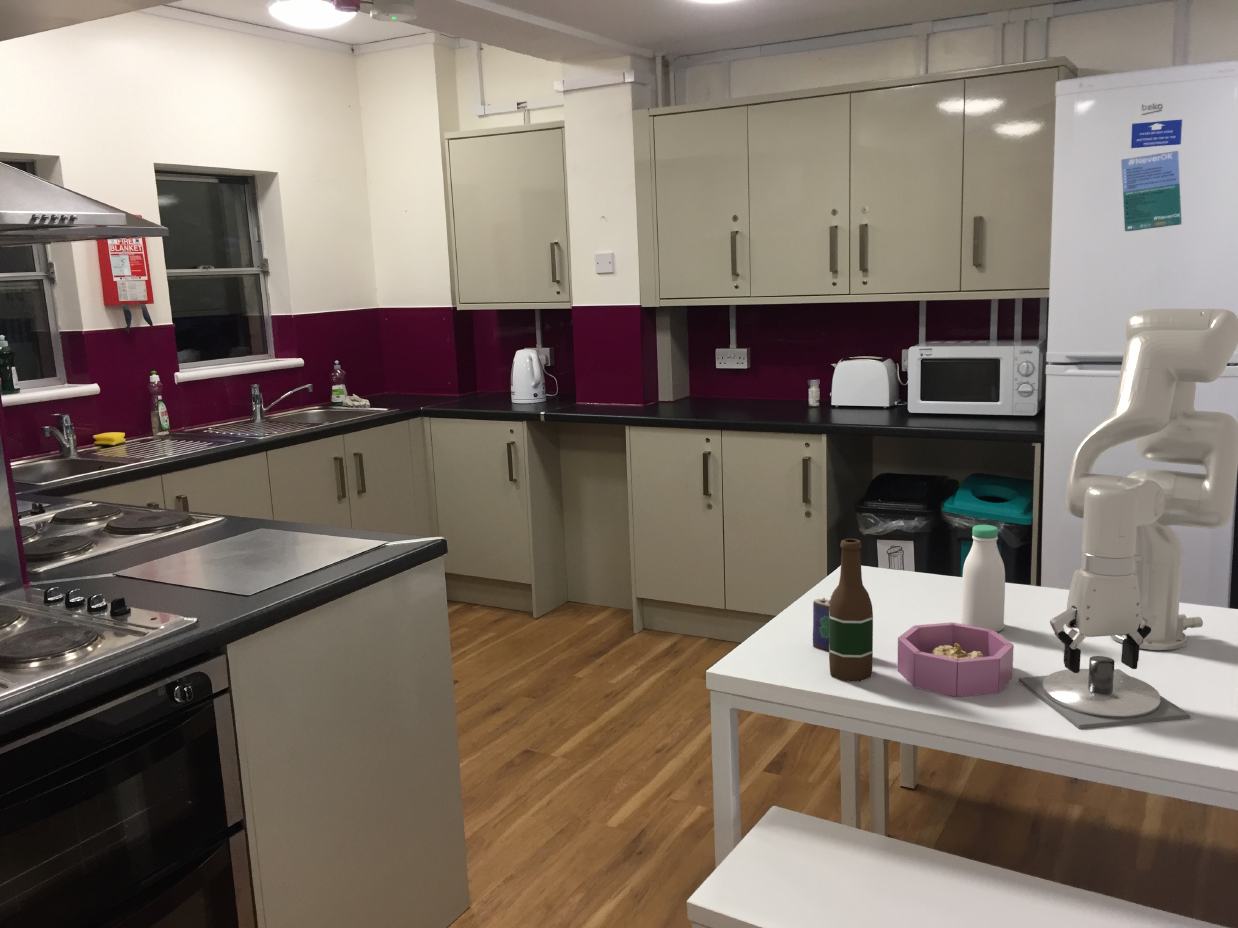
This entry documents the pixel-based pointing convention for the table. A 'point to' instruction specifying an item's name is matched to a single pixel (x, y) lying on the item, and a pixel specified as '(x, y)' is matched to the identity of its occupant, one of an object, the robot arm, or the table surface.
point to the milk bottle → (983, 581)
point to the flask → (821, 624)
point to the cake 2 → (955, 652)
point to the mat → (1086, 721)
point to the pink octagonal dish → (950, 672)
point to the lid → (1101, 691)
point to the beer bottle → (850, 620)
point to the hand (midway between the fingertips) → (1100, 667)
